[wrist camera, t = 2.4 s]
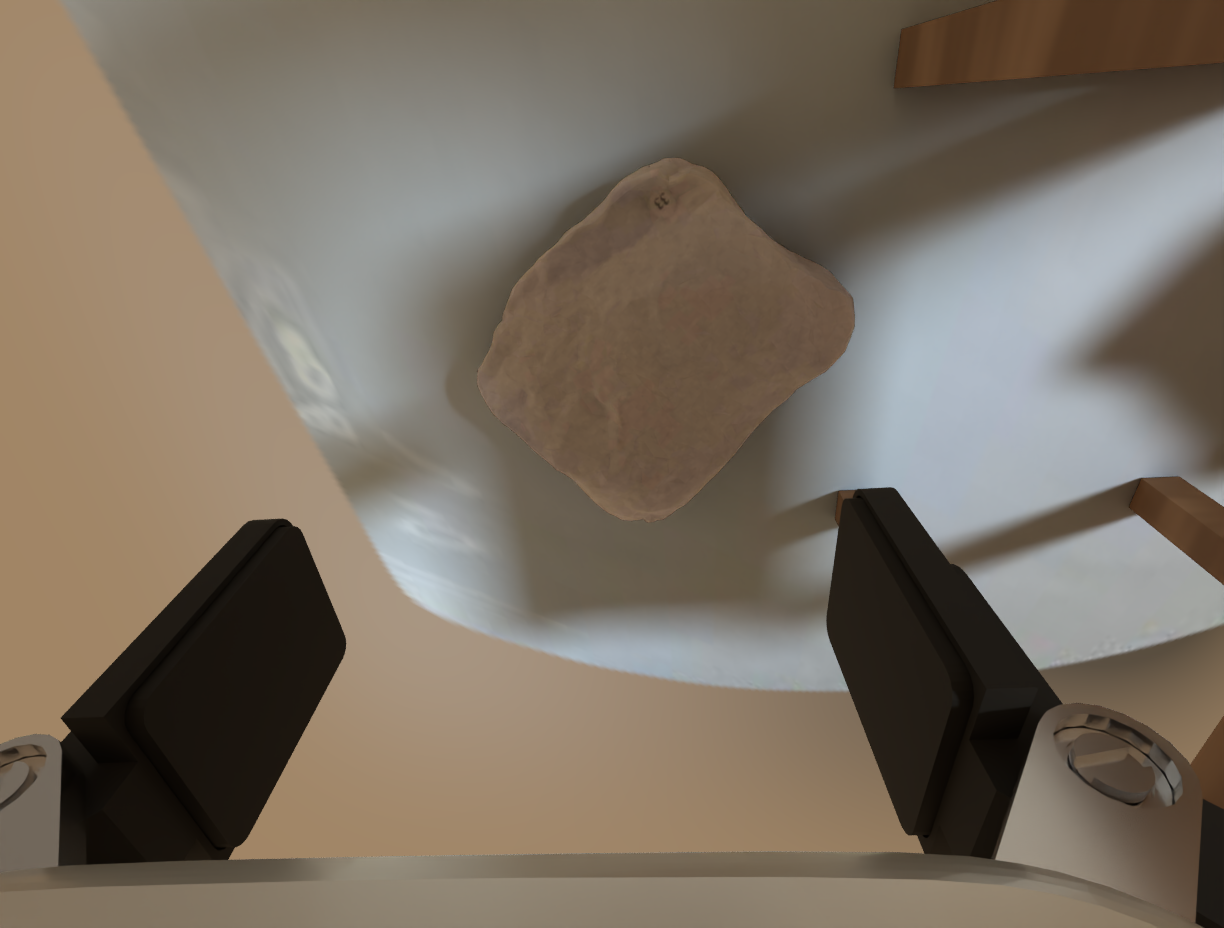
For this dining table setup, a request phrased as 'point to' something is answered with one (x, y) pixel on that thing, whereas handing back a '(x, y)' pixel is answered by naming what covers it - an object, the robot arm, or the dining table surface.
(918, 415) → the dining table surface
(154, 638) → the robot arm
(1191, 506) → the stand
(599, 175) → the dining table surface
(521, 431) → the stone block
